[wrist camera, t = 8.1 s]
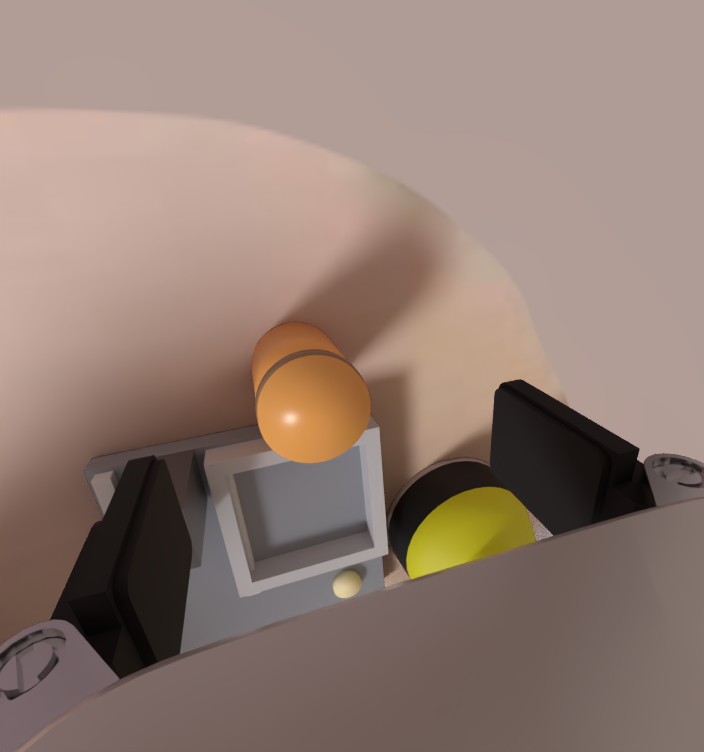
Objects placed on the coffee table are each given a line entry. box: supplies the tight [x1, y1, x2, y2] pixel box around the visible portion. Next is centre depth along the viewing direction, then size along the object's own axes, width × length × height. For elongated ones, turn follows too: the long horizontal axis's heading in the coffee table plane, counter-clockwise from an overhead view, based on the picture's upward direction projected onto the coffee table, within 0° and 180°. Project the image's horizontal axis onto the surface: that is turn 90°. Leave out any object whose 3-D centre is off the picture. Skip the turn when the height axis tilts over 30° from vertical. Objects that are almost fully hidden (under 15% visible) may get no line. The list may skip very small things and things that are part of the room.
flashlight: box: [386, 457, 536, 579], centre depth 16 cm, size 25×9×9 cm
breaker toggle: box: [102, 450, 208, 569], centre depth 18 cm, size 3×3×5 cm
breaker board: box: [84, 413, 388, 654], centre depth 23 cm, size 14×14×3 cm
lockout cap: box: [252, 322, 371, 463], centre depth 18 cm, size 4×4×6 cm
